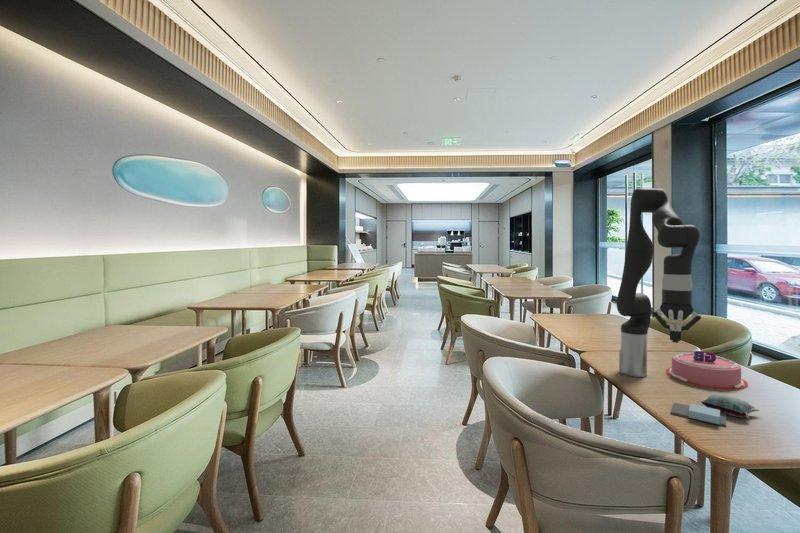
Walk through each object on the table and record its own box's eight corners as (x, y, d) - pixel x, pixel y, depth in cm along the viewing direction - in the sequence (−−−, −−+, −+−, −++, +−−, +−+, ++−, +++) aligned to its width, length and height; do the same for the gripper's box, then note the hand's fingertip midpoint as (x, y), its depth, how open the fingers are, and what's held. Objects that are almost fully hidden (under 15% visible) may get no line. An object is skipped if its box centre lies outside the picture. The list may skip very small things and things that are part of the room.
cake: (736, 373, 149) (737, 347, 148) (758, 395, 127) (759, 365, 126) (661, 364, 161) (662, 341, 161) (670, 383, 139) (671, 356, 139)
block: (690, 403, 114) (689, 410, 110) (720, 410, 110) (719, 417, 105) (690, 410, 115) (688, 417, 110) (719, 417, 110) (719, 424, 105)
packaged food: (711, 402, 122) (711, 388, 121) (759, 416, 112) (759, 400, 111) (699, 409, 117) (700, 394, 117) (748, 424, 107) (748, 407, 107)
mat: (670, 413, 114) (670, 411, 114) (673, 404, 121) (673, 402, 121) (726, 426, 105) (726, 424, 105) (726, 415, 112) (726, 413, 112)
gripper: (649, 288, 117) (648, 341, 117) (703, 290, 108) (701, 348, 109) (653, 286, 122) (652, 336, 123) (704, 288, 113) (703, 343, 114)
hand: (675, 342), depth 116 cm, fingers closed
